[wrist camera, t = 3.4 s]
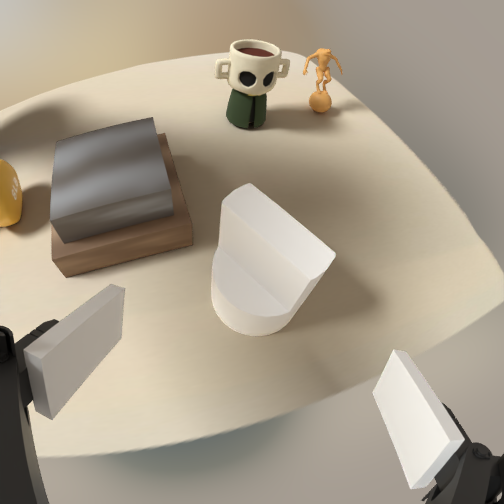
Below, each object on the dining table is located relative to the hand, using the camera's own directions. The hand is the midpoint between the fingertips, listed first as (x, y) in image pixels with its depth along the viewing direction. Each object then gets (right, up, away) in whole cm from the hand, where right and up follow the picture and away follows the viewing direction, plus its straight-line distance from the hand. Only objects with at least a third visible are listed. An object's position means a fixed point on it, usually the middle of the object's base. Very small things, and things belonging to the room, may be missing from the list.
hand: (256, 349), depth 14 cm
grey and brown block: (-16, +10, +22) cm, 29 cm away
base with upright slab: (0, 0, +19) cm, 19 cm away
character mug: (-1, +25, +34) cm, 42 cm away
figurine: (+11, +30, +38) cm, 50 cm away
